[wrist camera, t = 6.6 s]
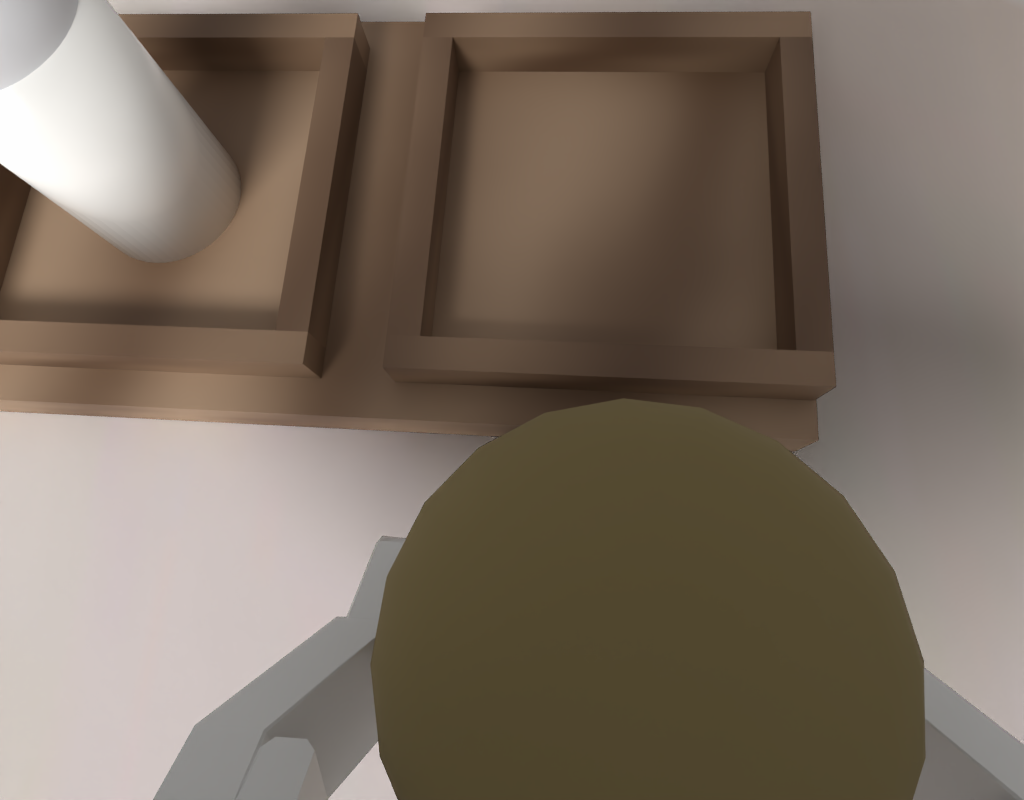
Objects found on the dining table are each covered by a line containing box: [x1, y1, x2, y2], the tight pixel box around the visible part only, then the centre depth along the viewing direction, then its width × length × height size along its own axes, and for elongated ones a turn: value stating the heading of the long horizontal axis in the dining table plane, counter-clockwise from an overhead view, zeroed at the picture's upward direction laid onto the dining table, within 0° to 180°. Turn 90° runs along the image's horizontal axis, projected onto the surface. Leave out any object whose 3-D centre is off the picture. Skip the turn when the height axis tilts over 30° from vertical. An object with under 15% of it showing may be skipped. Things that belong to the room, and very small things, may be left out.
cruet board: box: [0, 12, 836, 451], centre depth 17 cm, size 22×12×3 cm, turn 86°
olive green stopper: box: [370, 398, 926, 800], centre depth 10 cm, size 6×6×11 cm
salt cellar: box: [0, 0, 241, 263], centre depth 14 cm, size 4×4×8 cm
